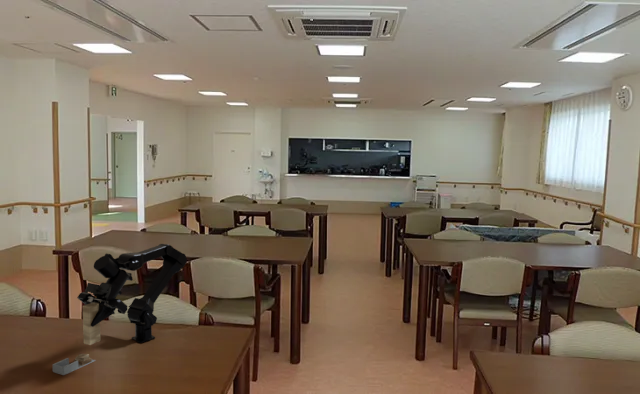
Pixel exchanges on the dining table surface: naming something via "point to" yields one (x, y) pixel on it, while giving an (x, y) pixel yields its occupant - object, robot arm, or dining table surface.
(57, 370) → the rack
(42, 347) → the dining table surface
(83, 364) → the offcut low
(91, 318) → the tan wooden block
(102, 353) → the dining table surface
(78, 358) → the offcut top
